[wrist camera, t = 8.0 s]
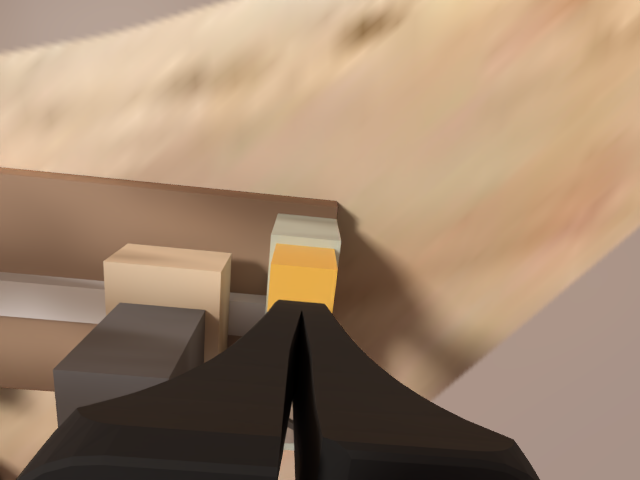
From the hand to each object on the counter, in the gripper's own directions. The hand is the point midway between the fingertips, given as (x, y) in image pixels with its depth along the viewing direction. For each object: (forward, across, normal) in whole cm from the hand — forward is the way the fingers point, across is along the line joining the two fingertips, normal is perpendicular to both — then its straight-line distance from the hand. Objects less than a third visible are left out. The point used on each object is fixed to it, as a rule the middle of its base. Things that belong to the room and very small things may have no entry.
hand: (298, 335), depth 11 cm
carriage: (+6, +5, +3) cm, 8 cm away
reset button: (+4, 0, 0) cm, 4 cm away
